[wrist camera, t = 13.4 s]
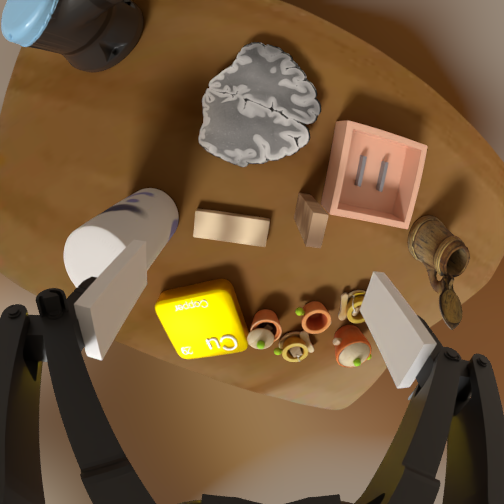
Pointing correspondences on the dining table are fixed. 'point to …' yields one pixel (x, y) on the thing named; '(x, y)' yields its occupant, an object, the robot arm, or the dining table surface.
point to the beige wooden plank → (231, 227)
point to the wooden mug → (440, 262)
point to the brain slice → (258, 108)
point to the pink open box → (373, 175)
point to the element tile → (203, 319)
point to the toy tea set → (315, 331)
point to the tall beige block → (310, 220)
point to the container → (121, 233)
